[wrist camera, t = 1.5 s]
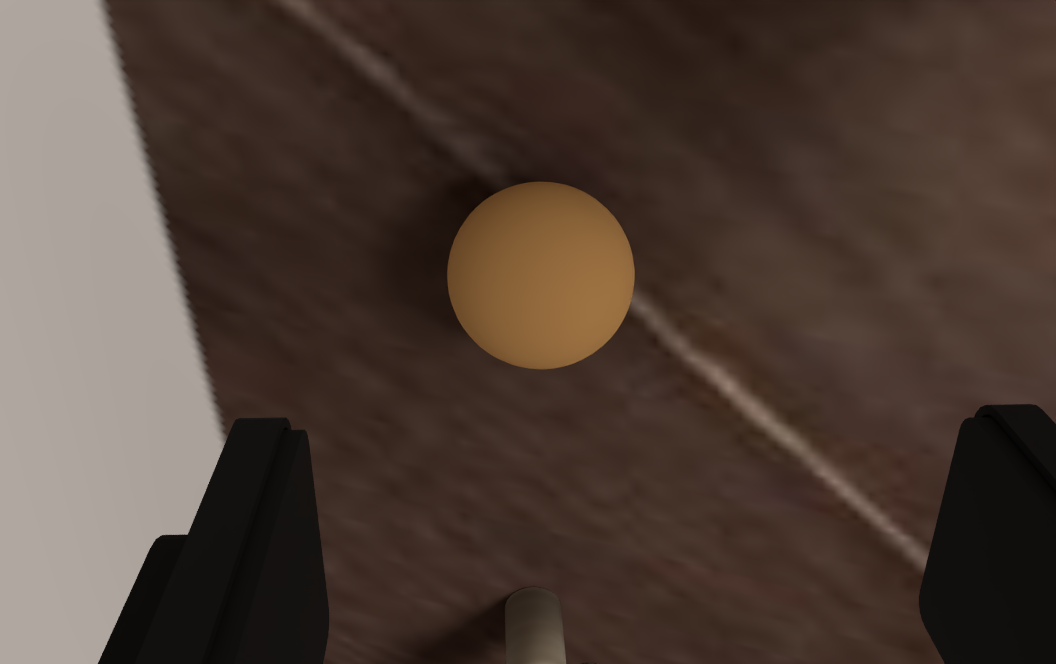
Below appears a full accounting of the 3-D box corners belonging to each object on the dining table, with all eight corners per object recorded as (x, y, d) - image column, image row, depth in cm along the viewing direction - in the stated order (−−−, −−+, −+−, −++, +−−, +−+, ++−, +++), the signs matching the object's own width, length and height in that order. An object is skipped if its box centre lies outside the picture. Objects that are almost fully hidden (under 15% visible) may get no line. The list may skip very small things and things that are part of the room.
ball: (447, 157, 33) (439, 223, 28) (627, 155, 33) (653, 221, 28) (452, 317, 36) (447, 406, 30) (618, 316, 36) (641, 403, 31)
